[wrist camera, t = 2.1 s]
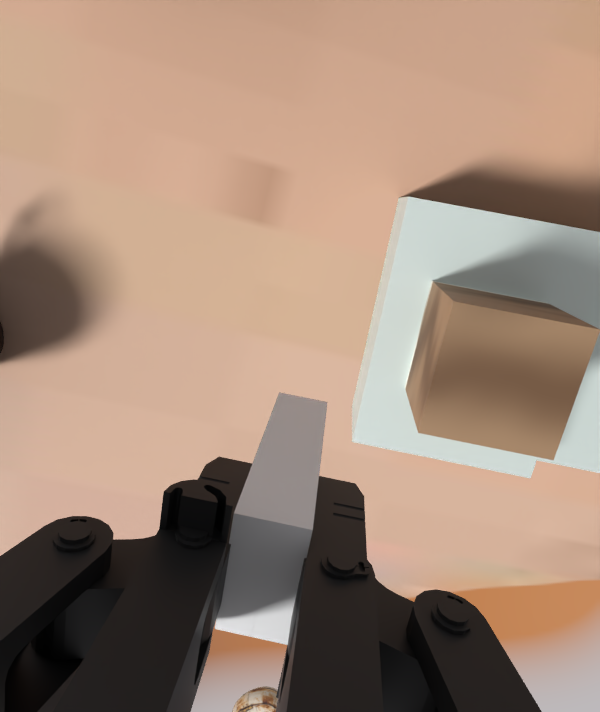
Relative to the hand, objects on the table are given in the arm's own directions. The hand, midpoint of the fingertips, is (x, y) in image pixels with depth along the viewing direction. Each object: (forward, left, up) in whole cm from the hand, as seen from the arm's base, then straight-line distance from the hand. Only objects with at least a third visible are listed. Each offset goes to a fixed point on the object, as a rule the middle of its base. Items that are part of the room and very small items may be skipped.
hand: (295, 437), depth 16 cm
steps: (0, +15, -24) cm, 28 cm away
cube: (0, +9, -18) cm, 20 cm away
